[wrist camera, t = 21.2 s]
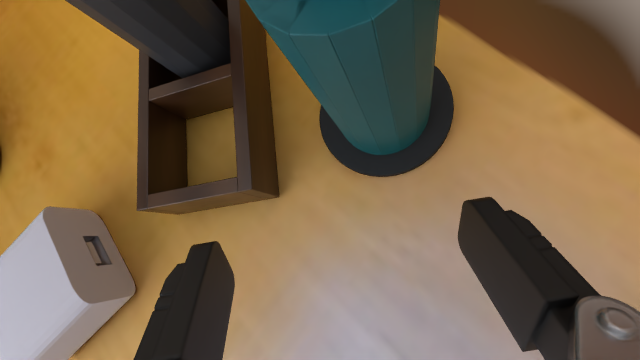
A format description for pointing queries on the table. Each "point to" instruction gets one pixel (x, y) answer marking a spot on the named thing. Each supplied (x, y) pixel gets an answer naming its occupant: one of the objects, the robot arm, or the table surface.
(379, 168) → the coaster
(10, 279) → the charger
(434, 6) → the teal bottle
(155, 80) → the caddy
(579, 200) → the table surface
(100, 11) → the charcoal bottle
